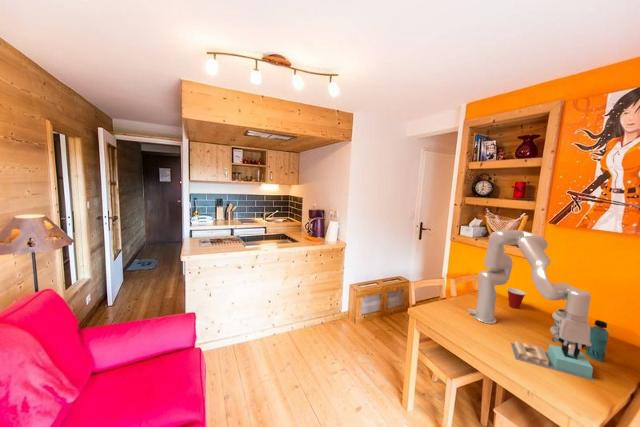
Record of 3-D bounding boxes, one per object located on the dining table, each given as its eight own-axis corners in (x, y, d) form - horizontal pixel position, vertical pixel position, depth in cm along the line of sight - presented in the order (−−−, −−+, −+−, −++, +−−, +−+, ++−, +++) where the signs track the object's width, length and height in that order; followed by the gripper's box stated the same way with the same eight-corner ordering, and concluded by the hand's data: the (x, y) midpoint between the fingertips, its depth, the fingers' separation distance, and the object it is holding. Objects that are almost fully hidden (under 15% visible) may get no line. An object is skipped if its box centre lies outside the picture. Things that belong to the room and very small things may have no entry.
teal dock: (555, 368, 119) (556, 358, 119) (547, 353, 130) (549, 344, 129) (591, 378, 114) (593, 367, 113) (580, 362, 124) (581, 352, 124)
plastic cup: (527, 311, 177) (529, 294, 175) (509, 309, 179) (511, 292, 178) (519, 304, 187) (521, 288, 186) (502, 302, 190) (504, 286, 188)
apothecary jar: (549, 334, 150) (554, 304, 148) (579, 343, 141) (584, 312, 139) (547, 342, 141) (552, 311, 139) (578, 353, 133) (584, 320, 131)
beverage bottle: (581, 355, 131) (587, 318, 129) (593, 355, 132) (599, 318, 130) (595, 364, 125) (602, 325, 123) (608, 364, 125) (615, 325, 123)
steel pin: (565, 361, 121) (568, 342, 120) (563, 357, 124) (565, 339, 122) (574, 363, 119) (577, 345, 118) (572, 359, 122) (574, 341, 121)
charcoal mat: (515, 362, 125) (515, 359, 125) (510, 345, 138) (510, 342, 138) (595, 384, 112) (596, 381, 112) (581, 363, 125) (581, 361, 125)
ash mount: (518, 357, 126) (519, 353, 126) (514, 345, 136) (515, 341, 135) (548, 365, 121) (548, 360, 121) (541, 352, 131) (542, 348, 130)
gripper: (554, 315, 119) (549, 352, 122) (604, 325, 112) (597, 365, 114) (550, 308, 126) (544, 344, 128) (596, 317, 118) (590, 355, 121)
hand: (569, 353), depth 121 cm, fingers closed on steel pin, 3 cm apart
